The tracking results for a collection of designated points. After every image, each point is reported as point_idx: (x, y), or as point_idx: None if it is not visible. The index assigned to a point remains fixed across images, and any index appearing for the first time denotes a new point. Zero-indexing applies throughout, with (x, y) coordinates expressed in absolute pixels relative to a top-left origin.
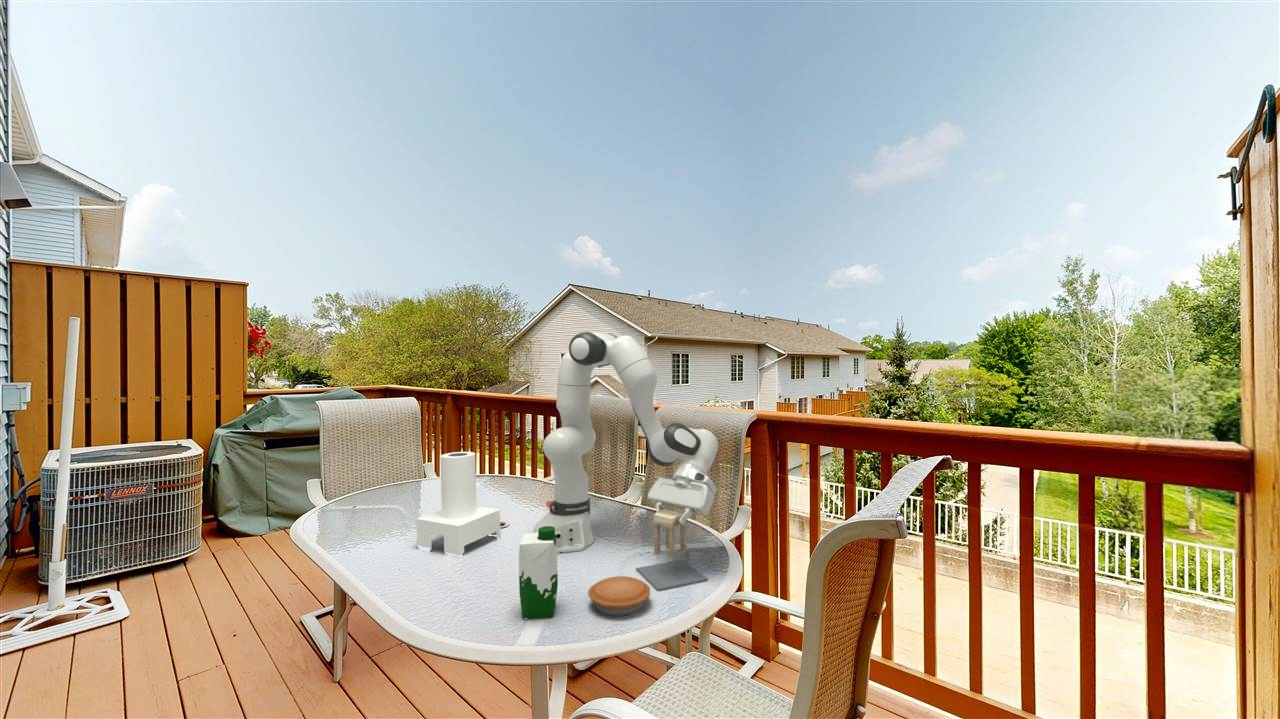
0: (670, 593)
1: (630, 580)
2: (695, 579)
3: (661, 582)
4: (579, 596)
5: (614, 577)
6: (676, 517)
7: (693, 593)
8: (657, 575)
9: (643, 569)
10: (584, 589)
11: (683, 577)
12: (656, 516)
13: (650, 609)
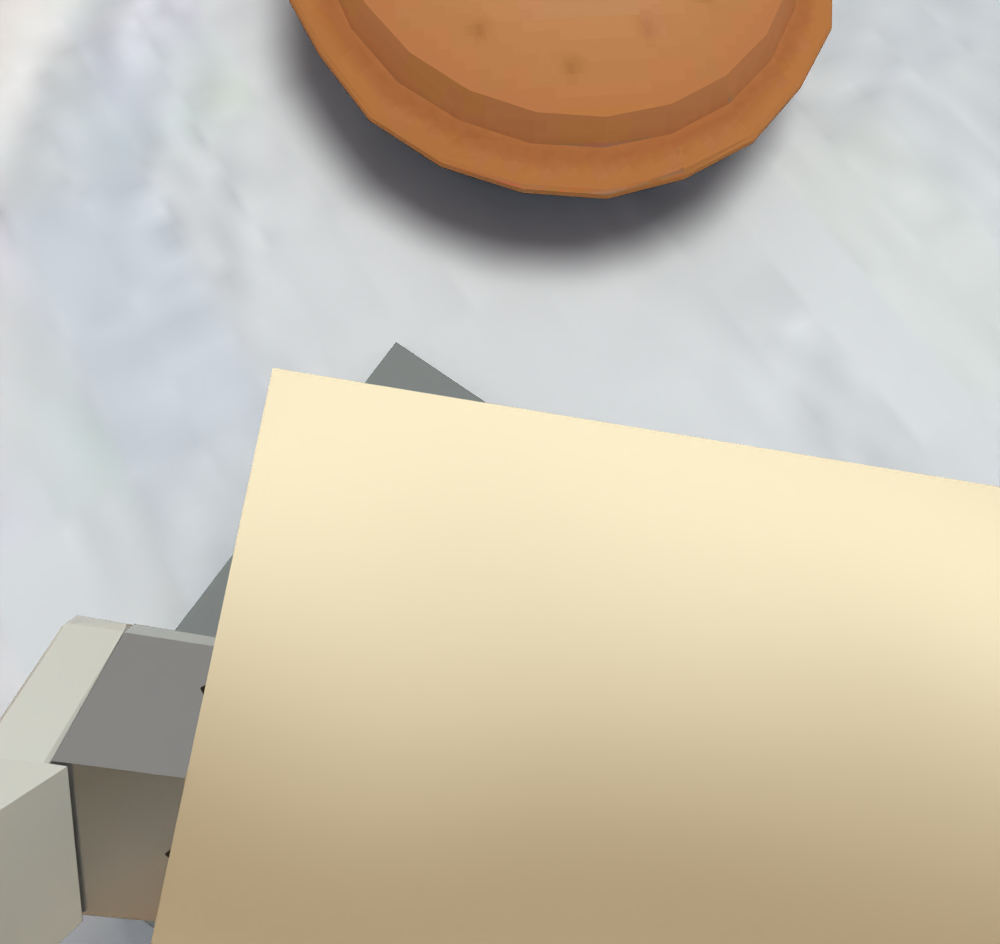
0: (271, 373)
1: (554, 40)
2: None
3: None
4: (889, 4)
5: (732, 39)
6: (219, 628)
7: (66, 477)
8: None
9: None
10: (945, 108)
11: None
12: (888, 481)
13: (286, 62)
